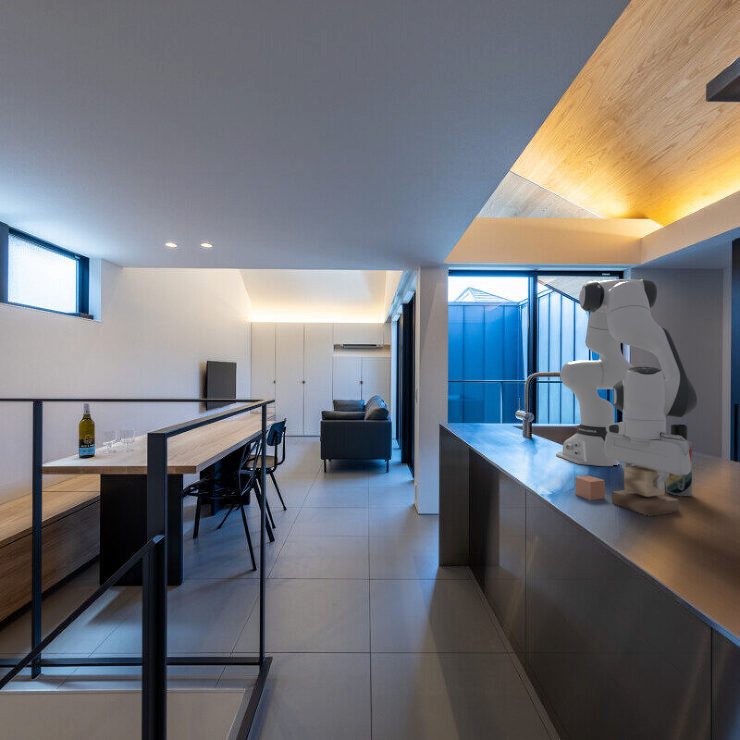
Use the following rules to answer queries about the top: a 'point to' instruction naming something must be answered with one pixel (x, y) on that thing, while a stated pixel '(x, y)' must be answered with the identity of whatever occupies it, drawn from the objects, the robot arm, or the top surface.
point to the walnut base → (645, 503)
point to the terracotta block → (590, 487)
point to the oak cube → (641, 481)
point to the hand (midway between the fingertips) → (644, 483)
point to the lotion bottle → (680, 483)
